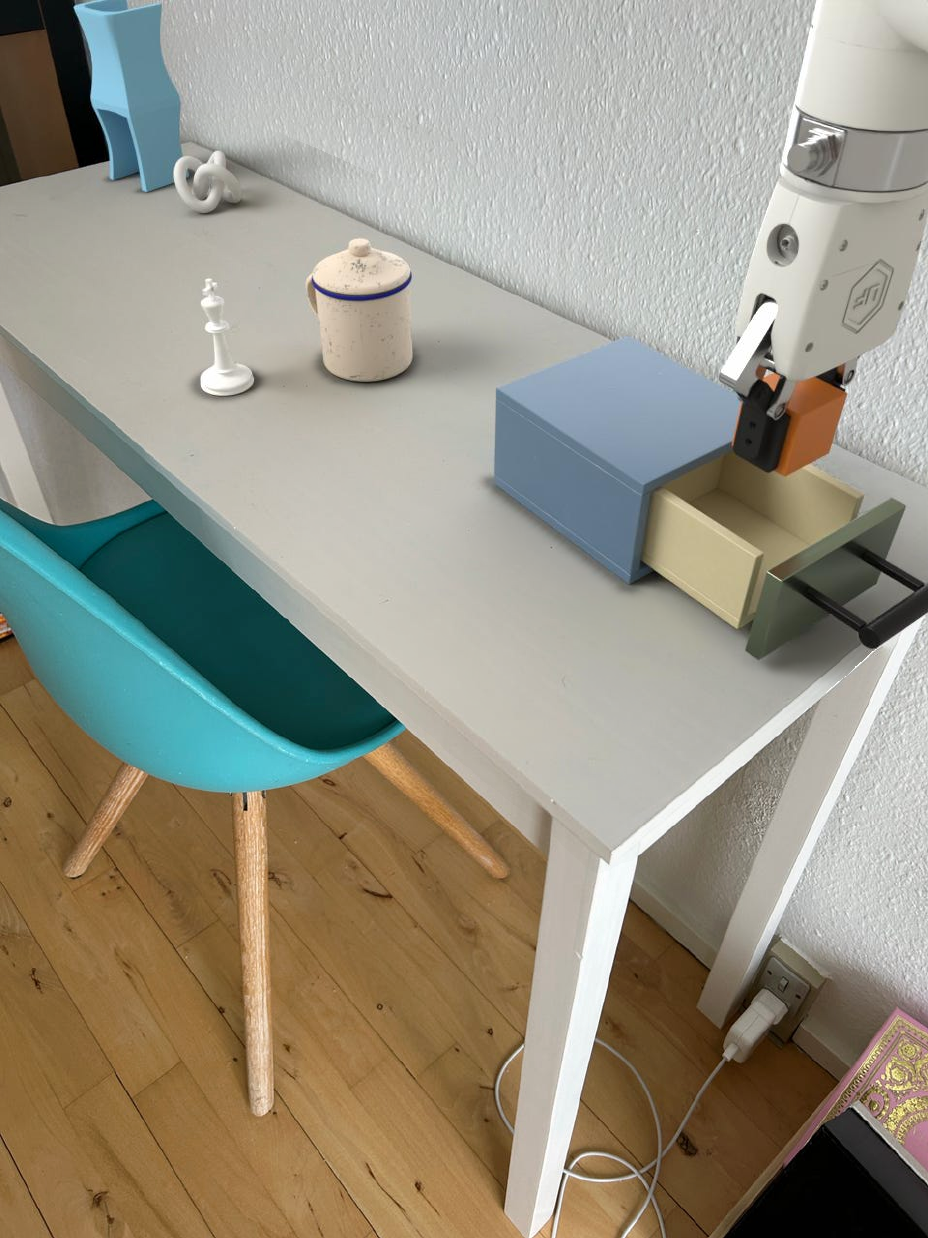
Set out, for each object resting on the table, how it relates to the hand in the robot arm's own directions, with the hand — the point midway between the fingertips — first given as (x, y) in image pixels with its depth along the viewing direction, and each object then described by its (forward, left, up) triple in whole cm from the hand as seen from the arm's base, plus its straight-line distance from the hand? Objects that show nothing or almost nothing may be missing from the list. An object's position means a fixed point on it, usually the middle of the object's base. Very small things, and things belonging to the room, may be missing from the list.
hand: (781, 445), depth 63 cm
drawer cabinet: (+10, -8, -12) cm, 17 cm away
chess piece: (+49, -16, -12) cm, 53 cm away
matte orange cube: (0, 0, 0) cm, 0 cm away
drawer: (-2, +1, -11) cm, 11 cm away
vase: (+83, -63, -12) cm, 105 cm away
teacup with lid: (+39, -24, -12) cm, 47 cm away
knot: (+70, -56, -12) cm, 90 cm away
